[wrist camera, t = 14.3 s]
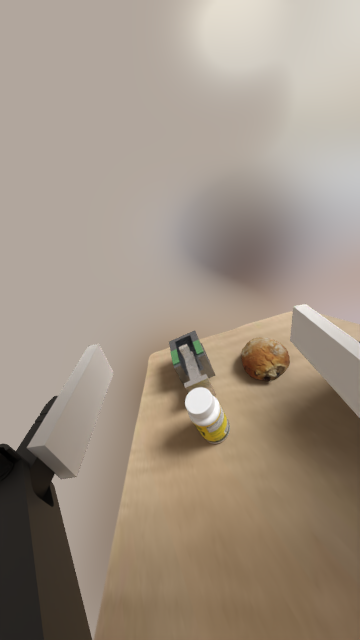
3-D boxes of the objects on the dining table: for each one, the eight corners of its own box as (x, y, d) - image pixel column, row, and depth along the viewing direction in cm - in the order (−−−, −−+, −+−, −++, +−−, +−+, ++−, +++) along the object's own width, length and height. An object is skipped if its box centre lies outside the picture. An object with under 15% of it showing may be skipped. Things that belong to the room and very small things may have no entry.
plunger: (216, 395, 42) (202, 368, 38) (195, 403, 43) (178, 378, 38) (203, 362, 51) (191, 337, 46) (186, 370, 51) (172, 345, 47)
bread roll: (292, 365, 46) (290, 332, 45) (287, 388, 38) (285, 349, 36) (249, 360, 52) (246, 332, 50) (237, 380, 44) (233, 346, 42)
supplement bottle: (196, 424, 40) (177, 396, 35) (219, 408, 41) (204, 378, 36) (210, 451, 35) (190, 424, 30) (236, 432, 36) (221, 402, 31)
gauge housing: (215, 375, 48) (205, 353, 44) (185, 387, 48) (172, 367, 44) (204, 349, 56) (195, 329, 52) (178, 360, 57) (167, 341, 53)
